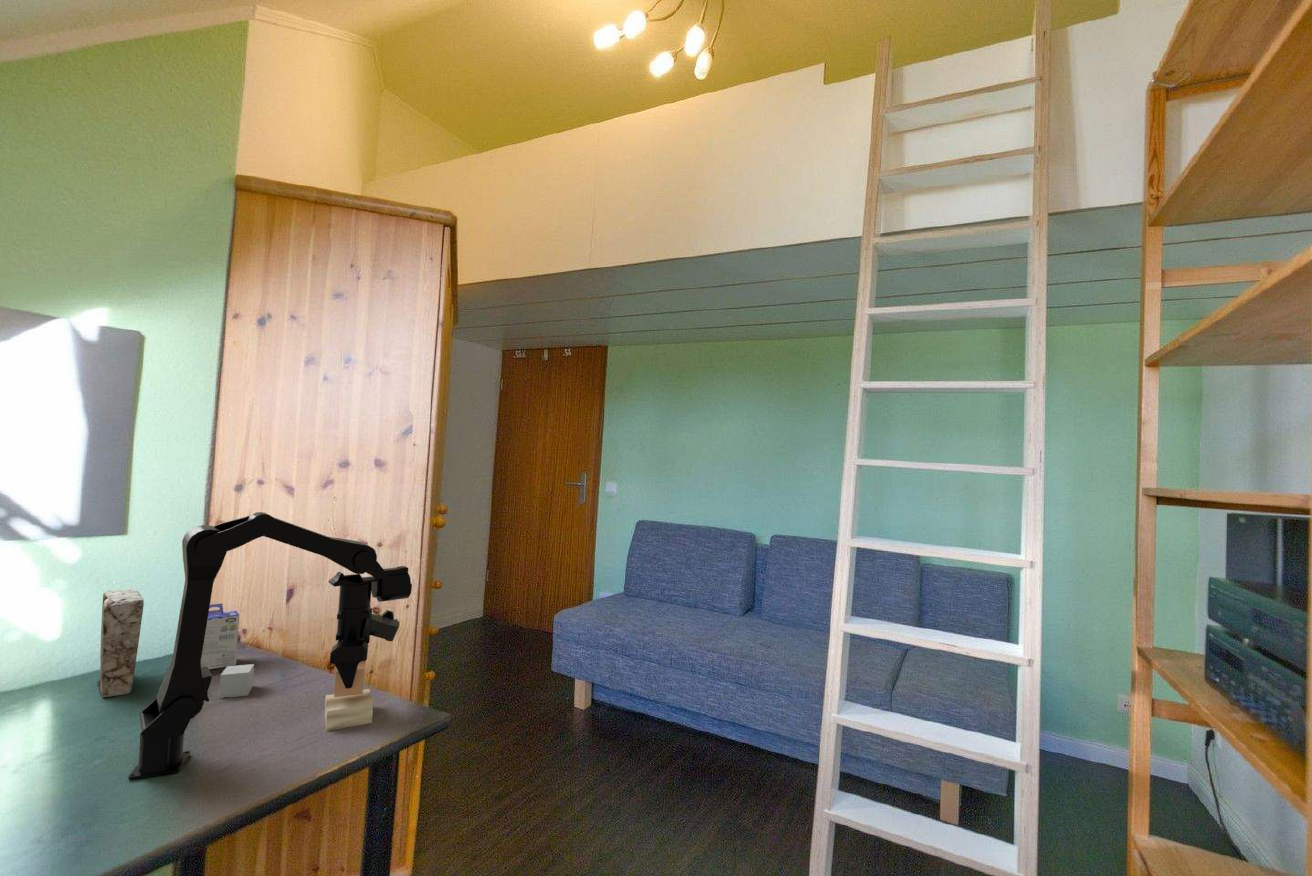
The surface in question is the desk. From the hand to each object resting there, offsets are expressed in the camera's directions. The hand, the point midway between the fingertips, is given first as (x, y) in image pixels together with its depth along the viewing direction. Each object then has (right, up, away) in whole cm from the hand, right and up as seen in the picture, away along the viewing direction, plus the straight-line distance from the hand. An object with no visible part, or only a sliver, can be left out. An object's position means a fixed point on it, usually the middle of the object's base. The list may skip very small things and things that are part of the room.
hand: (349, 683), depth 117 cm
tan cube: (0, -2, 0) cm, 2 cm away
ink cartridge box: (-45, -6, +22) cm, 50 cm away
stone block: (-55, -5, +8) cm, 56 cm away
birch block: (0, -7, 0) cm, 7 cm away
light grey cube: (-29, -6, +9) cm, 31 cm away
